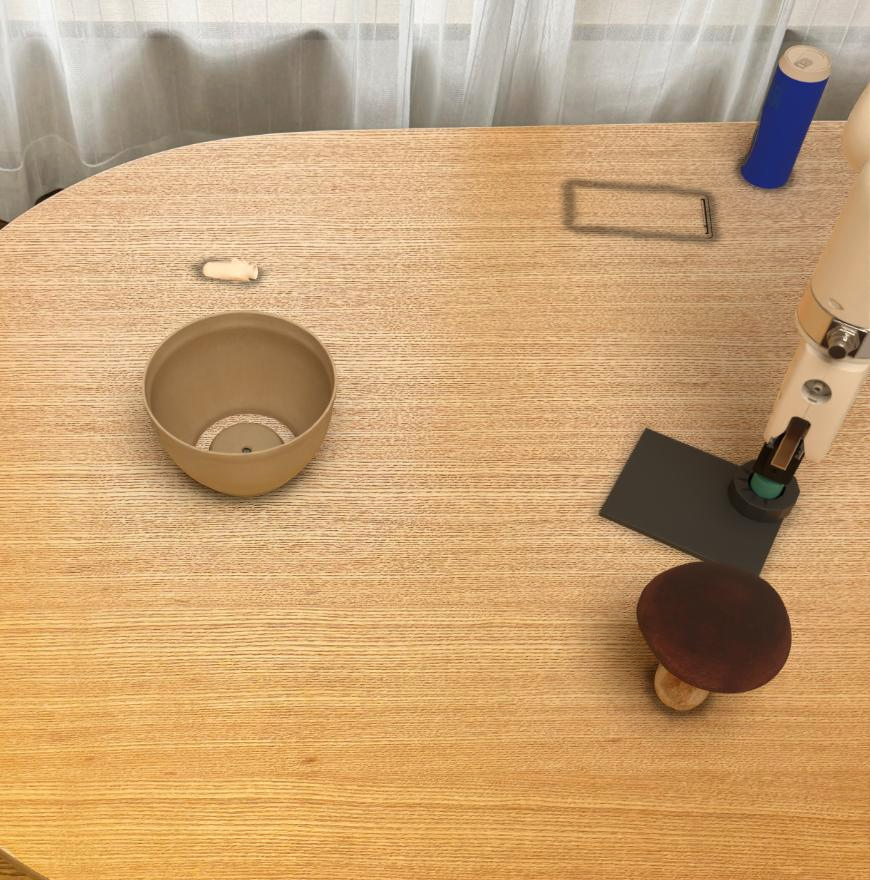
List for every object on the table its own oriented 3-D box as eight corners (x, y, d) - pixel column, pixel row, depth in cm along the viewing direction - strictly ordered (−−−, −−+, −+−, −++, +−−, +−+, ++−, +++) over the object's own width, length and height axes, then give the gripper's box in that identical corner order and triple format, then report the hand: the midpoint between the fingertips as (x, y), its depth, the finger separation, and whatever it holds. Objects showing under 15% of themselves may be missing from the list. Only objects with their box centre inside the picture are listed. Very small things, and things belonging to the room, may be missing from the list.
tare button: (784, 482, 101) (791, 470, 100) (775, 503, 100) (782, 491, 98) (755, 470, 102) (761, 458, 100) (745, 491, 100) (752, 478, 99)
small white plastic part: (217, 258, 121) (215, 234, 118) (263, 283, 119) (261, 259, 116) (194, 277, 119) (192, 254, 117) (240, 302, 117) (239, 279, 115)
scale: (793, 499, 104) (807, 475, 101) (754, 592, 98) (767, 569, 95) (642, 437, 108) (651, 412, 105) (596, 523, 102) (604, 498, 99)
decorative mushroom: (594, 639, 95) (635, 532, 83) (726, 632, 96) (786, 525, 84) (623, 764, 89) (672, 668, 77) (764, 755, 90) (835, 659, 77)
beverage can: (755, 160, 131) (800, 37, 119) (794, 182, 129) (844, 58, 117) (728, 181, 129) (771, 57, 117) (768, 203, 127) (816, 79, 115)
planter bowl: (231, 369, 112) (223, 283, 103) (370, 446, 107) (375, 362, 98) (118, 476, 104) (100, 393, 95) (262, 564, 99) (257, 486, 90)
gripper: (879, 399, 79) (789, 553, 94) (932, 269, 87) (840, 431, 102) (772, 358, 81) (700, 515, 96) (832, 234, 89) (756, 398, 104)
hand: (772, 471), depth 99 cm, fingers closed
